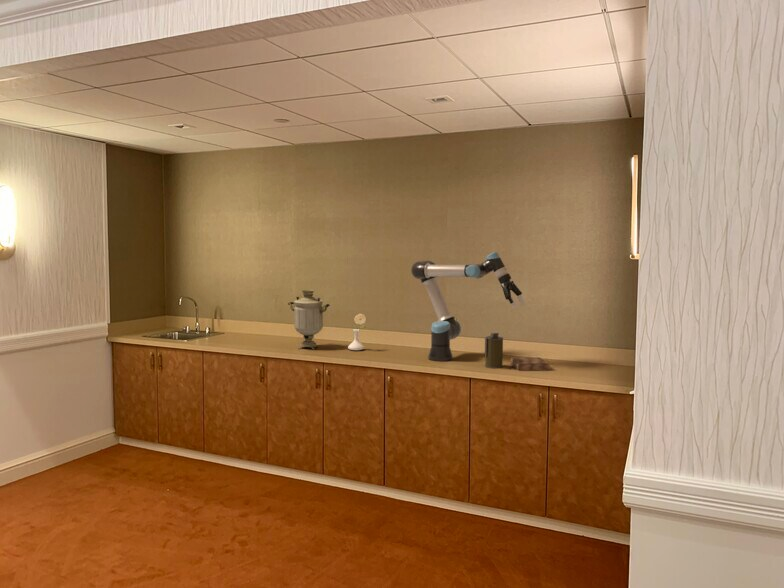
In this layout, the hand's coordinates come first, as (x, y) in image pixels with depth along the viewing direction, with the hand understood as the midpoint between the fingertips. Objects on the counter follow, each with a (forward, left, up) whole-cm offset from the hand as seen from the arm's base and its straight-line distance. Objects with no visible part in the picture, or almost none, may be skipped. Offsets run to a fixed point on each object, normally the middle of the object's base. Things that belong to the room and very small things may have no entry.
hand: (519, 306), depth 365 cm
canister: (-17, -10, -35) cm, 40 cm away
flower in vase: (-99, +45, -35) cm, 115 cm away
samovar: (-131, +56, -35) cm, 147 cm away
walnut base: (+4, -12, -35) cm, 37 cm away
